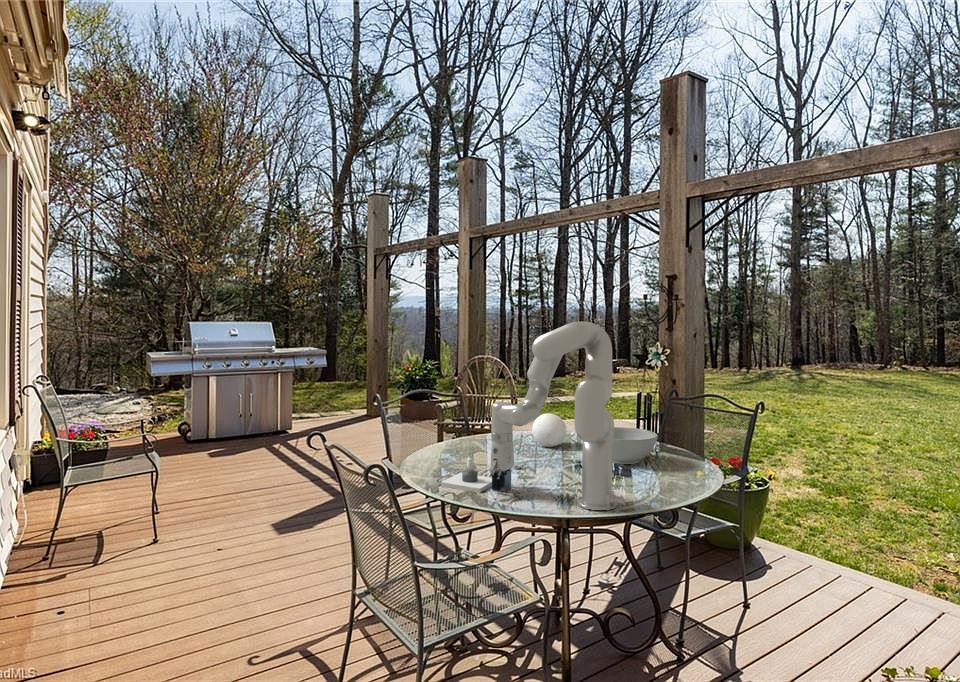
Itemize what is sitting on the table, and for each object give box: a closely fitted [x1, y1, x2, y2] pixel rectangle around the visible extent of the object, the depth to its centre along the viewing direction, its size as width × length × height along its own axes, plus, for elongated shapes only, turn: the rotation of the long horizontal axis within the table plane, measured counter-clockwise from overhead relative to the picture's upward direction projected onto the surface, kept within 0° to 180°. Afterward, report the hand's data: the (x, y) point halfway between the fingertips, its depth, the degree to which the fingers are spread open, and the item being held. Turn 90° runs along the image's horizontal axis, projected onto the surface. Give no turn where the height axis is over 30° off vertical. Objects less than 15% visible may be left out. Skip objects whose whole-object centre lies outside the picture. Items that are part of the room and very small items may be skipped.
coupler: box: [491, 468, 512, 494], centre depth 192 cm, size 5×5×7 cm
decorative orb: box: [531, 412, 567, 448], centre depth 260 cm, size 20×18×16 cm
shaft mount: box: [440, 457, 492, 494], centre depth 199 cm, size 16×14×10 cm
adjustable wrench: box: [511, 460, 521, 471], centre depth 231 cm, size 25×6×2 cm, turn 7°
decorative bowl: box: [612, 426, 659, 465], centre depth 233 cm, size 27×27×12 cm
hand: (501, 486), depth 192 cm, fingers open, 7 cm apart
